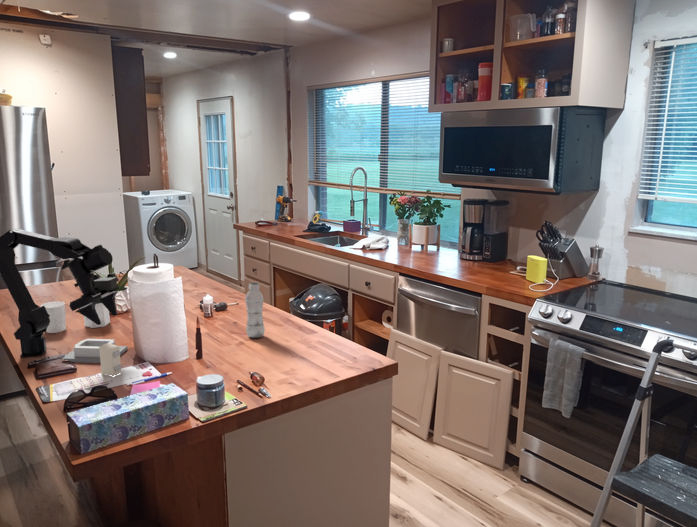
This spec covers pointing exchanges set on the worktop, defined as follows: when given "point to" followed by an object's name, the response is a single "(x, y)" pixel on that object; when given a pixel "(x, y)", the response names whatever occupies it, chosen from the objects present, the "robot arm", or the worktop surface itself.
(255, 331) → the plastic bottle
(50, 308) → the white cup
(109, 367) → the cream rectangular block
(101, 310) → the jar
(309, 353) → the worktop surface
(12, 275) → the robot arm
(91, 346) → the hinge base
